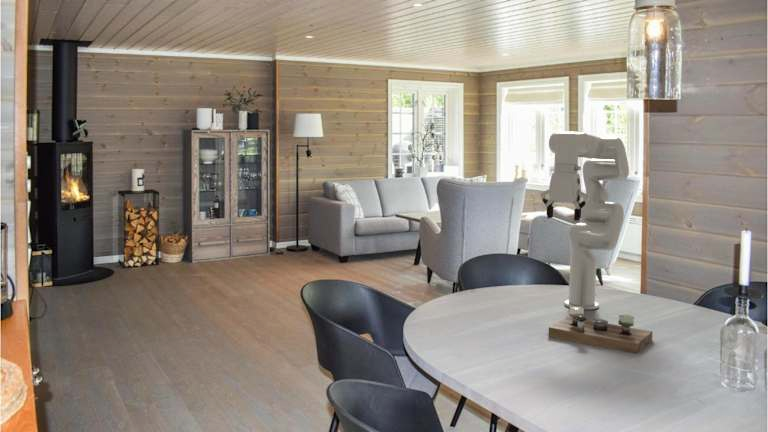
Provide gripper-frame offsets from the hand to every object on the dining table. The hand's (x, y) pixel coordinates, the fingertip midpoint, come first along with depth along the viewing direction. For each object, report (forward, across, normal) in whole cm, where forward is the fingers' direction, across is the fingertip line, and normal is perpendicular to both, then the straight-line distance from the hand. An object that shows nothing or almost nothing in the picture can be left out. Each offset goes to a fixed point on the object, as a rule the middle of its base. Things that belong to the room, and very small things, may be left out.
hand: (563, 219), depth 240 cm
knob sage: (+33, -27, +11) cm, 44 cm away
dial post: (+33, -15, +17) cm, 40 cm away
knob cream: (+33, -11, +11) cm, 36 cm away
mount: (+36, -19, +11) cm, 42 cm away
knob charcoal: (+36, -19, +11) cm, 42 cm away
